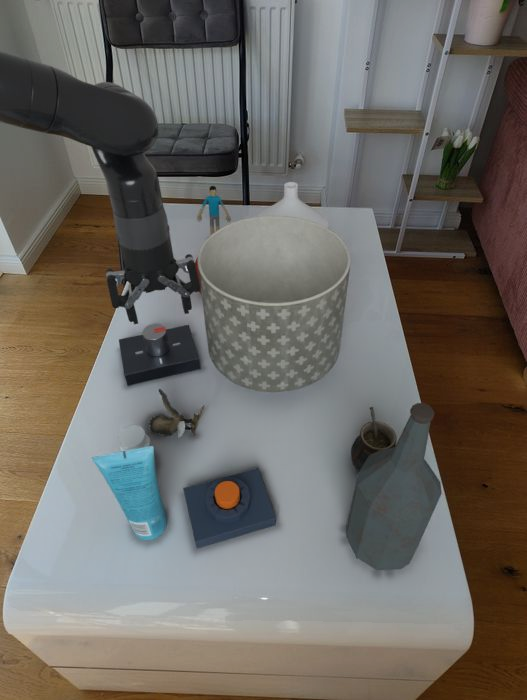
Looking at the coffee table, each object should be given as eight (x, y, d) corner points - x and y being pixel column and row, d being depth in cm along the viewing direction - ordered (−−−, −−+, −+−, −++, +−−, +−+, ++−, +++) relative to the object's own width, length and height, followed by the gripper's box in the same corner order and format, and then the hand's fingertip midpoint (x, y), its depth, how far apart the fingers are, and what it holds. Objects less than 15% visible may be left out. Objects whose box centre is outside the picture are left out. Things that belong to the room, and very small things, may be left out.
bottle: (408, 506, 79) (458, 373, 58) (424, 571, 72) (488, 447, 51) (341, 508, 79) (365, 376, 57) (350, 573, 72) (383, 451, 50)
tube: (171, 504, 80) (150, 429, 66) (177, 532, 76) (156, 461, 63) (122, 518, 78) (90, 445, 64) (126, 548, 75) (93, 477, 61)
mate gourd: (362, 490, 81) (370, 454, 74) (339, 452, 86) (345, 415, 79) (402, 475, 83) (414, 438, 76) (377, 438, 88) (387, 401, 80)
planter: (219, 312, 111) (209, 213, 94) (336, 317, 110) (348, 217, 93) (200, 402, 94) (184, 300, 77) (339, 410, 92) (354, 307, 75)
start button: (218, 512, 75) (217, 506, 73) (213, 490, 77) (212, 484, 76) (242, 505, 75) (242, 499, 74) (236, 484, 78) (235, 477, 77)
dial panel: (127, 386, 97) (124, 374, 95) (121, 350, 104) (118, 338, 101) (200, 369, 100) (199, 357, 97) (190, 335, 106) (188, 323, 104)
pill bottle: (121, 474, 83) (110, 445, 77) (133, 450, 87) (123, 420, 81) (149, 481, 82) (139, 451, 77) (160, 456, 86) (152, 425, 80)
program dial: (148, 358, 97) (143, 340, 94) (145, 343, 100) (140, 325, 97) (171, 353, 98) (167, 335, 95) (167, 338, 101) (163, 320, 98)
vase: (317, 288, 116) (322, 212, 103) (240, 274, 121) (236, 199, 107) (334, 244, 129) (341, 171, 115) (264, 233, 133) (263, 161, 119)
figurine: (232, 236, 132) (228, 181, 121) (232, 244, 130) (228, 188, 119) (200, 238, 131) (193, 183, 121) (199, 245, 129) (193, 190, 119)
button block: (196, 548, 75) (193, 536, 72) (184, 495, 81) (181, 481, 78) (275, 525, 77) (275, 512, 74) (258, 474, 83) (257, 460, 80)
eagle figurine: (209, 407, 91) (162, 388, 92) (202, 404, 84) (152, 384, 85) (192, 447, 90) (145, 428, 91) (184, 448, 83) (133, 427, 84)
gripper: (186, 212, 80) (197, 294, 91) (92, 228, 77) (116, 310, 89) (196, 238, 75) (206, 321, 86) (95, 256, 72) (120, 339, 84)
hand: (160, 315), depth 88 cm, fingers open, 8 cm apart
